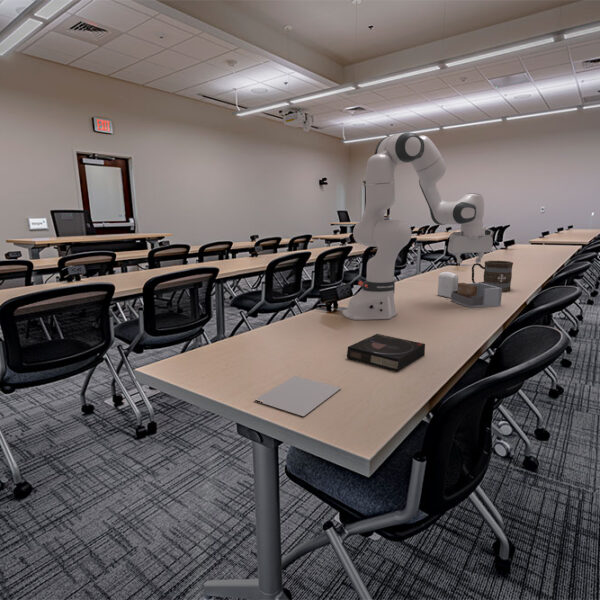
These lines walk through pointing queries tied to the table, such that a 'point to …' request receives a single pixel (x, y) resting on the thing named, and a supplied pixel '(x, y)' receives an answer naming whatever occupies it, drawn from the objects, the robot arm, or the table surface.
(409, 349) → the portable cd player
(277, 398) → the paper stack
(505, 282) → the mug
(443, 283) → the photo printer
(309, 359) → the table surface
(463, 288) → the brown rectangular block
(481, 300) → the cabinet
